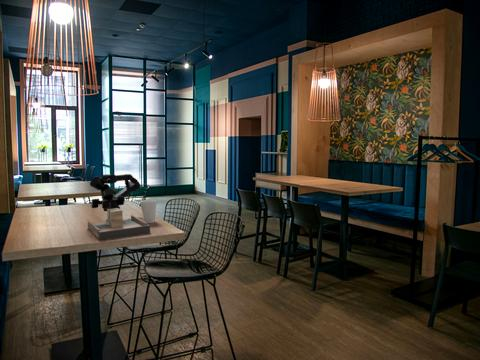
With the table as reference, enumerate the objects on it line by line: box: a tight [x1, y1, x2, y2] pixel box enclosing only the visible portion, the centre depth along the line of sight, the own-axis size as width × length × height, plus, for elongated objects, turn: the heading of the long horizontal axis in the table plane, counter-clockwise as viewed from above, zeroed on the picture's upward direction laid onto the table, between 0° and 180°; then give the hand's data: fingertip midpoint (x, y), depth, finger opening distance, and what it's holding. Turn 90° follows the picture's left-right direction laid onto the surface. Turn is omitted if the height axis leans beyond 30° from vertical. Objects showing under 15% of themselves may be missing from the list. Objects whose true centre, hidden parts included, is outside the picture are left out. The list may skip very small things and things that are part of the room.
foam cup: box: [140, 199, 158, 224], centre depth 240 cm, size 10×9×13 cm
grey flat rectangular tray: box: [87, 215, 151, 241], centre depth 219 cm, size 33×26×4 cm
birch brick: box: [106, 208, 124, 228], centre depth 223 cm, size 10×6×9 cm, turn 31°
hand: (111, 213), depth 230 cm, fingers closed
